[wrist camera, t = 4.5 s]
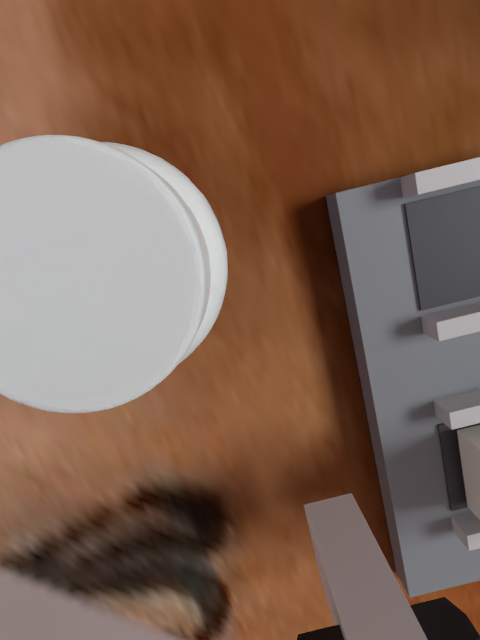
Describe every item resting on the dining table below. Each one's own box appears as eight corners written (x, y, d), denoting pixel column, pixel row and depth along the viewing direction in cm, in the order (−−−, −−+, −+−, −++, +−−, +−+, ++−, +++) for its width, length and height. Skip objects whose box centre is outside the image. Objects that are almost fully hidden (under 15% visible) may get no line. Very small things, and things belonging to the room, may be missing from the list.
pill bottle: (229, 317, 15) (245, 427, 7) (91, 330, 15) (-71, 458, 6) (217, 174, 14) (217, 88, 6) (68, 185, 14) (-157, 114, 5)
